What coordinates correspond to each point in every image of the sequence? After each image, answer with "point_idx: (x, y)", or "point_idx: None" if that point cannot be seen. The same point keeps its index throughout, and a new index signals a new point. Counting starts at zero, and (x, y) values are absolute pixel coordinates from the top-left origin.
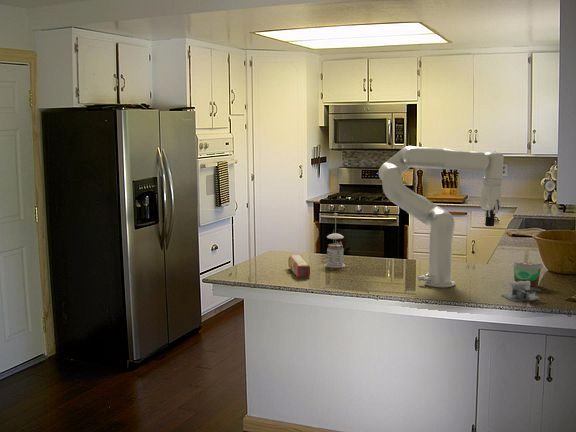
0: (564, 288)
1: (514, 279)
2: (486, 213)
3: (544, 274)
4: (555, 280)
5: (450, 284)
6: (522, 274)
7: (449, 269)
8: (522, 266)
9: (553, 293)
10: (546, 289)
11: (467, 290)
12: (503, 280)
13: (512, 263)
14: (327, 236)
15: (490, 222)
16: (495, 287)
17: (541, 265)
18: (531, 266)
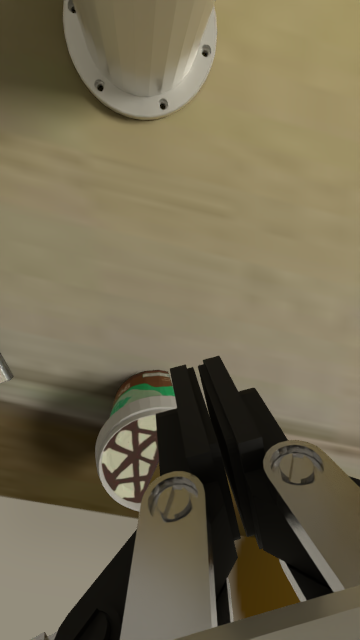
0: None
1: (159, 377)
2: (288, 497)
3: None
4: None
5: (84, 78)
6: (114, 411)
7: (92, 38)
8: (106, 431)
9: (42, 459)
10: None
11: (37, 158)
12: (218, 344)
13: (170, 403)
14: None
15: (158, 436)
16: (106, 292)
17: (125, 501)
18: (96, 464)
